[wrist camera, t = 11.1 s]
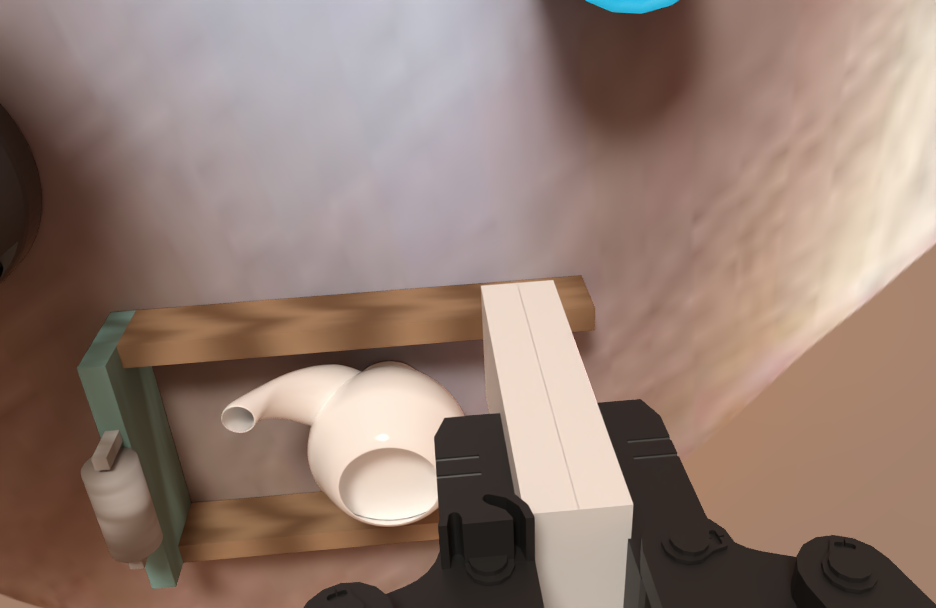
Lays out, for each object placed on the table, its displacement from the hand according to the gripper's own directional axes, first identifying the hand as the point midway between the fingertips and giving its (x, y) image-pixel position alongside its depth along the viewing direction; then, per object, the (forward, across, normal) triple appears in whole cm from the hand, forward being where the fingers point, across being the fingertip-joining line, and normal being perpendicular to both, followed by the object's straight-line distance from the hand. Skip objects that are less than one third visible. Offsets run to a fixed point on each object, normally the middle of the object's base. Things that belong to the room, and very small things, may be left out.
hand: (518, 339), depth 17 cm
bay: (+29, -7, -23) cm, 38 cm away
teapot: (+30, -5, -22) cm, 37 cm away
